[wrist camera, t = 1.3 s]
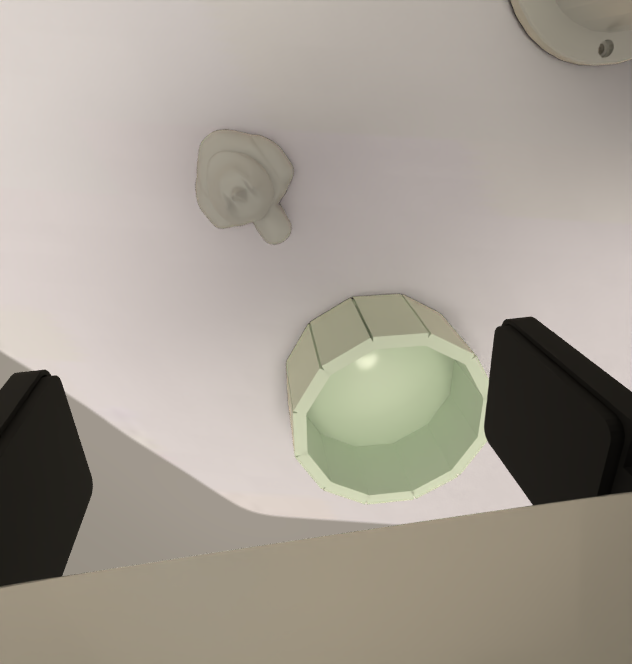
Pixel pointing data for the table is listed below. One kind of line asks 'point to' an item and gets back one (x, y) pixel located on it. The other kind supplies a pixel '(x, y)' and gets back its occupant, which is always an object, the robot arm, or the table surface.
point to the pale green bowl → (384, 400)
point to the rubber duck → (244, 183)
